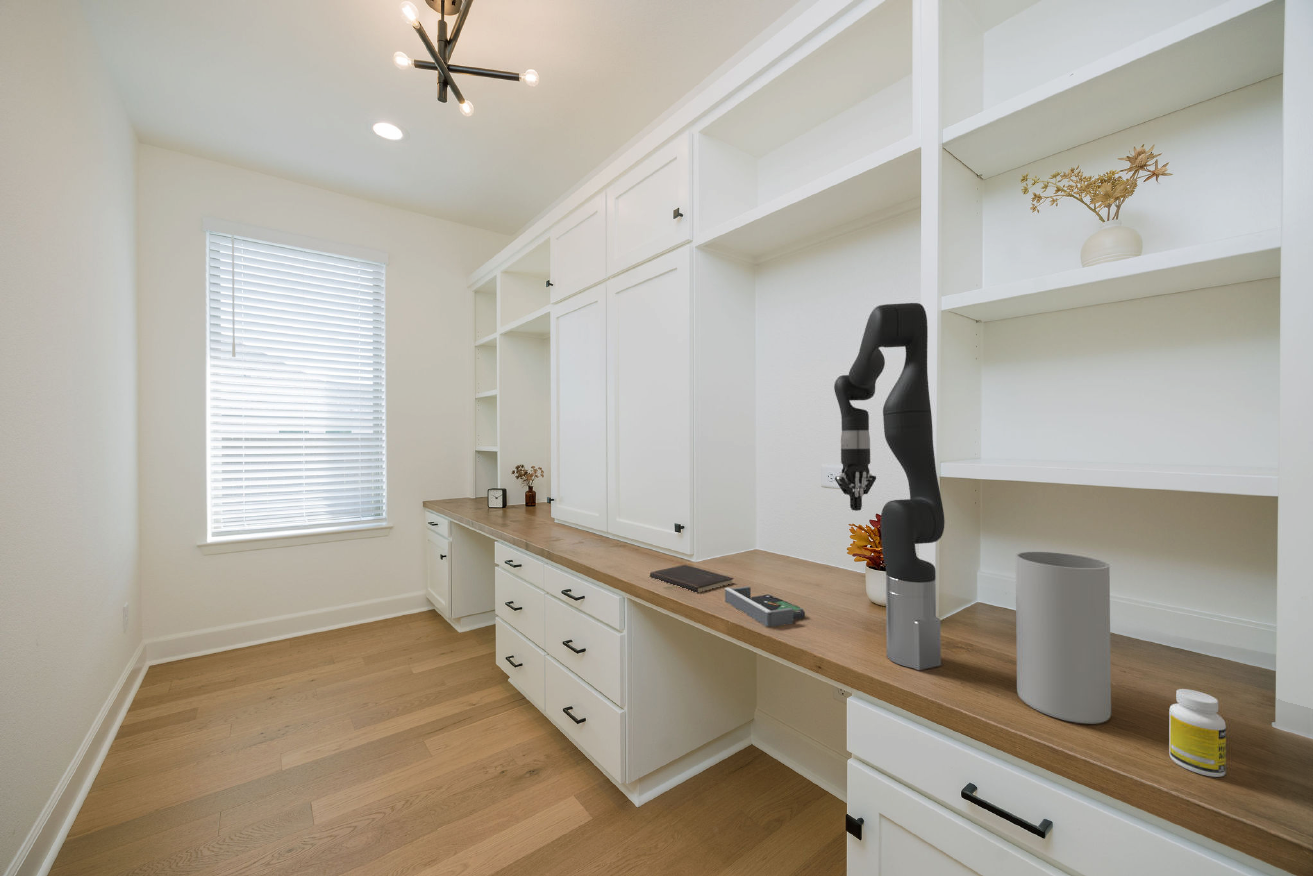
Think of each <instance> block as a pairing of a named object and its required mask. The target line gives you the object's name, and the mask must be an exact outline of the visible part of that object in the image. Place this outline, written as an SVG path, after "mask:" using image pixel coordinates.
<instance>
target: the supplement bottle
mask: <svg viewBox="0 0 1313 876" xmlns="http://www.w3.org/2000/svg"><path fill="white" fill-rule="evenodd" d="M1175 698H1176V699H1175V700H1176V702H1177V703H1172V704H1171V705H1170V707H1169V710H1168V711H1169V713H1168V715H1169V716H1168V718H1169V721H1168V722H1169V724H1168V726H1169V727H1168V730H1169V732H1168V734H1169V735H1168V738H1169V745H1168V748H1169V754H1168V755H1169V757H1170V759H1171V761H1173V762H1174V763H1176V765H1178V766H1180V767H1182V768H1184V769H1186V770H1187V771H1190V772H1193V773H1196V774H1199V775H1203V776H1207V777H1211V778H1212V777H1213V778H1220V777H1221V778H1222V777H1224V776H1225V775H1226V773H1227V772H1226V771H1227V767H1226V766H1227V765H1226V764H1227V762H1226V761H1227V759H1226V758H1227V757H1226V755H1227V753H1226V751H1227V750H1226V748H1227V746H1226V744H1227V743H1226V742H1227V741H1226V739H1227V728H1226V721H1225V720H1224V719H1223V717H1222V716H1221V715H1219V714H1218V712H1219V700H1218V699H1217V698H1216V697H1214V696H1212V695H1210V694H1208V693H1205V692H1201V691H1198V690H1195V689H1193V690H1192V689H1187V688H1179V689H1176V697H1175Z"/></svg>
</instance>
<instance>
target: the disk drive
mask: <svg viewBox="0 0 1313 876" xmlns="http://www.w3.org/2000/svg"><path fill="white" fill-rule="evenodd" d="M750 600H752V601H754V602H756V603H757V604H759V605H761V606H763V607H765V608H766V609H768V610H770V611H772V610H779V609H786V608H792V609H793V621H794V620H795V619H796V620H800V619H804V617H806V611H805V610H804V609H803V608H801V607H800V606H798V605H795V604H793V603H791V602H788V601H786V600H783V599H780V598H778V597H776V596H774V595H771V594H762V595H756V596H752V597H751V599H750Z"/></svg>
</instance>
